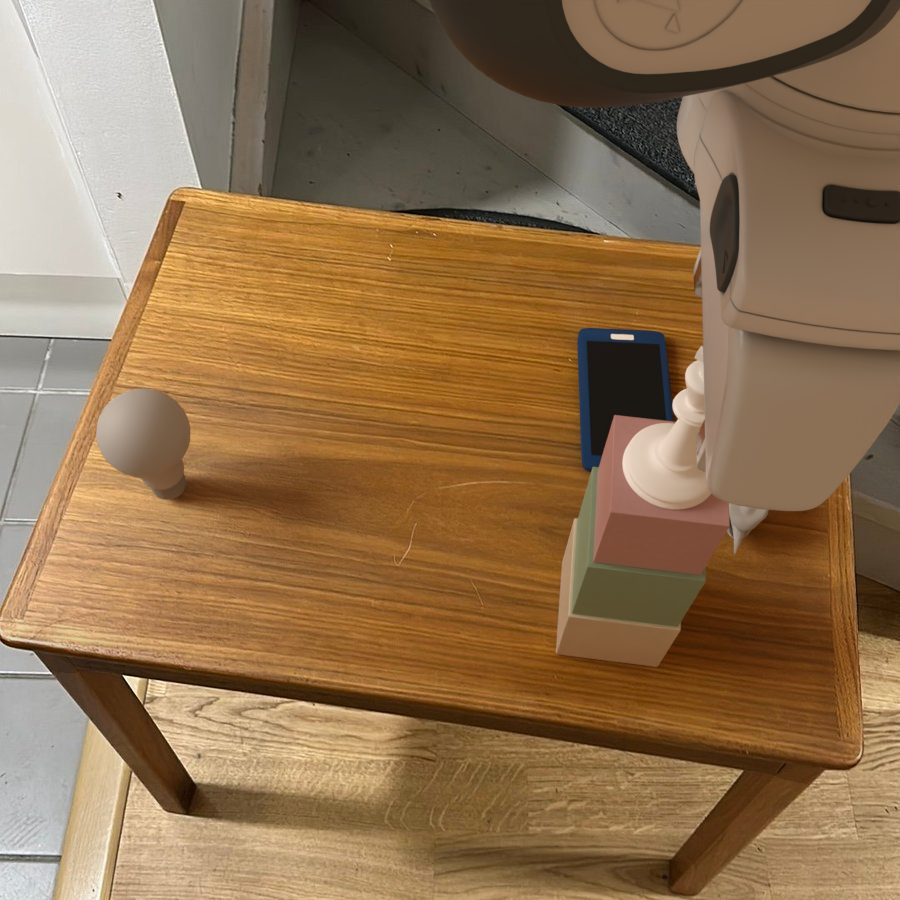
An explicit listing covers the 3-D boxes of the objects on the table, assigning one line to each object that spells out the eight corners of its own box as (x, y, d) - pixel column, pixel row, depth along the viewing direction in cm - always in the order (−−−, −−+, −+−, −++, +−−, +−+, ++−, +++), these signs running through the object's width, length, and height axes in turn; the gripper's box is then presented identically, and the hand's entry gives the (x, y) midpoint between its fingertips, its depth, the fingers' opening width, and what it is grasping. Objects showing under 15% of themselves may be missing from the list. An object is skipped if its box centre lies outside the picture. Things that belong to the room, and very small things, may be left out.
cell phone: (663, 335, 78) (665, 330, 77) (677, 477, 71) (679, 472, 70) (576, 331, 78) (577, 326, 78) (581, 473, 71) (582, 468, 70)
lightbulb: (122, 471, 70) (75, 387, 61) (201, 445, 72) (166, 359, 62) (141, 537, 68) (94, 459, 58) (222, 509, 69) (189, 428, 60)
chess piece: (651, 413, 50) (695, 288, 41) (733, 459, 48) (797, 339, 40) (604, 477, 48) (641, 358, 39) (689, 527, 46) (746, 415, 38)
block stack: (555, 654, 63) (600, 519, 46) (561, 562, 67) (605, 405, 50) (657, 667, 63) (740, 536, 46) (658, 574, 67) (735, 420, 50)
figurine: (764, 477, 71) (785, 444, 67) (755, 569, 67) (776, 539, 63) (714, 466, 72) (732, 432, 67) (702, 557, 67) (720, 526, 63)
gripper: (718, -86, 35) (645, 196, 46) (739, 339, 24) (636, 566, 35) (890, -71, 34) (772, 209, 46) (989, 367, 23) (802, 586, 35)
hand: (713, 367), depth 41 cm, fingers open, 8 cm apart
